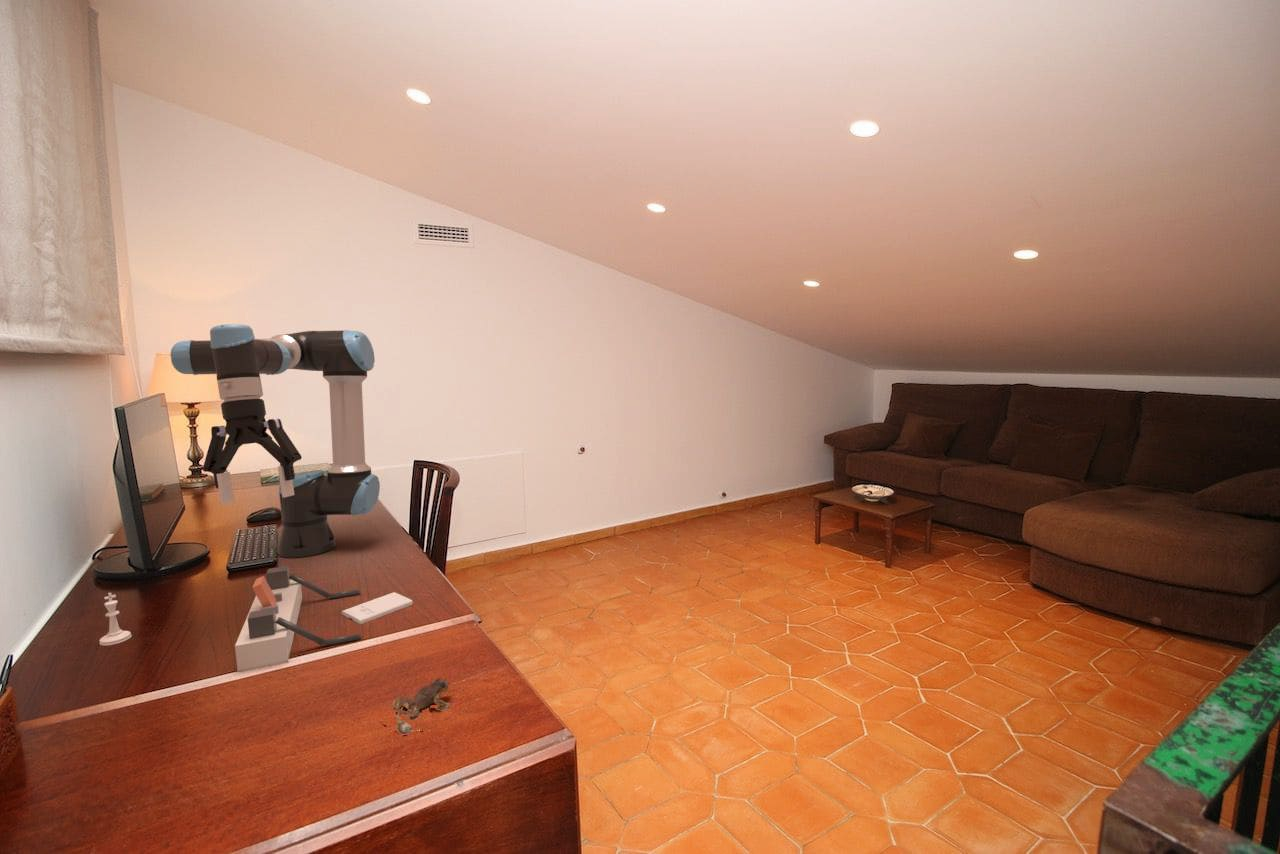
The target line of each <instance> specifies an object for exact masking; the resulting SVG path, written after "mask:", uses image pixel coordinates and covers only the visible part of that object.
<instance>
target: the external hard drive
mask: <svg viewBox="0 0 1280 854" xmlns="http://www.w3.org/2000/svg"><path fill="white" fill-rule="evenodd" d="M412 605H414V604H413V600H412V599H410V598H409V597H406V596H404V595H402V594H399V593H398V592H394V591H393V592H390V593H388V594H386V595H383V596H380V597H377V598H374V599H372V600H368V601H366V602H363V603H360V604H357V605H355V606H352V607H350V608H346V609H344V610H341V615H342V616H344V617H346V618H348V619H351V620H352V621H353V622H355V623H357V624H359V625H363V624H365V623H368V622H370V621H373V620H375V619H378V618H381V617H383V616H386V615H389V614H391V613H395V612H396V611H399V610H402V609H405V608H407V607H410V606H412Z"/></svg>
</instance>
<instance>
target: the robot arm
mask: <svg viewBox="0 0 1280 854" xmlns="http://www.w3.org/2000/svg"><path fill="white" fill-rule="evenodd" d="M209 338H210V340H195V339H194V340H193V339H190V340H180V341H177V342H176V343H175V344H173V346H172V347H171V350H170V360H171V362H170V363H171V364H172V366H173V368H174V369H175V370H176V371H177V372H179V373H181V374H182V375H194V376H198V375H216V382H217V388H218V395H219V399H220V400H222V401H223V402H221V404H220V407H221V414H222V415H221V416H222V419H223V420H225V425H216V426H215V425H214V426H211V428H210V429H211V430H210V431H211V438H210V442H209V445H208V449H207V451H206V452H207V453H206V456H205V460H204V463H203V467H202V471H203V472H208V473H211V474H213V479H214V484H215V488H216V489H218V491H219V498H220V504H221V506H222V505H227V504H231V503H232V504H233V503H235V496H234V489H233V484H232V478H231V472H230V471H229V470H227V469H228V467H229V465H230V464H231V462H232V460H233V459H234V456H235V455H236V453H237V452H238V450H239V449H240V447H242V446H243V445H249V444H258V445H260V446H261V447H262V448H264V450H265V451H266V452H267V453H269V454H270V455H271V456H272V457H273V458H274V459H275V461H277V462H278V463H279V465H278V466H277V472H278V477H279V483H278V495H279V504H280V513H281V524H282V527H281V531H280V535H279V538H278V539H279V540H278V543H277V547H276V548H277V555H278V554H279V555H278V556H279V557H283V558H304V557H312V556H316V555H319V554H323V553H326V552H329V551H331V550H333V549H334V548H335V547H336V546H337V544H336V543H337V542H336V536H335V535H334V532H333V529H332V528H331V526H330V524H329V522H328V516H337V515H338V516H342V515H343V516H344V515H346V516H348V515H350V516H357V515H366V514H369V513H370V512H372V511H373V510H374V509H375V506H376V505H377V502H378V500H379V496H380V486H381V484H380V482H381V481H380V480H379V477H378V475H376V474H374V473H373V474H372V467H370V466H369V465H368V464H367V463H366V449H365V448H366V447H365V446H366V445H365V429H364V428H365V425H364V421H365V420H364V404H363V403H364V402H363V398H364V397H363V382H364V381H365V380H366V379H367V378H368V372H370V371H372V370H373V368H374V366H375V362H376V361H375V353H374V348H373V345H372V343H371V341H370V338H369V337H368V336H367V335H366V333H364V332H362V331H358V330H349V329H347V330H346V329H345V330H306V331H300V332H299V331H298V332H293V333H286V334H285V333H284V334H276V335H274V336H272V337H270V338H256V336H255V334H254V331H253V328H252V327H251V326H250V325H247V324H240V323H239V324H238V323H235V324H233V323H229V324H219V325H215V326H213V327H211V328H210V330H209ZM287 370H300V371H308V372H309V371H310V372H312V371H313V372H314V371H315V372H322V377H323V379H324V380H325V381H327V382H328V384H329V385H328V387H329V388H328V389H329V407H330V428H331V429H330V431H331V450H332V451H331V454H332V465H331V467H330V468H329V469H327V472H326V473H327V474H326V475H325V472H324V471H323V469H322V470H321V469H315V470H308V471H301V472H297V473H295V468H294V464H295V463H296V462H298V461H301V460H302V457H303V456H302V455H301V454H300V452H299V450H298V448H296V446H295V444H294V443H293V441H292V440H291V438H290V437H289V435H288V434H287V432H286V431H285V429H284V427H283V424H282V420H281V419H280V418H272V419H271V418H270V419H268V420H266V418H265V416H266V415H267V412H266V406H265V401H264V399H262V398H261V397H263V396H264V392H263V386H262V385H263V384H262V381H261V380H262V379H261V376H260V375H266V376H267V375H268V376H269V375H271V376H273V375H280V374H282V373H285V372H286V371H287ZM267 430H268V431H269V432H270V434H271V435H269V434H268V432H267ZM227 435H228V437H227ZM273 439H274V440H275V441H276V442H275V441H274V440H273Z"/></svg>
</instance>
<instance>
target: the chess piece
mask: <svg viewBox="0 0 1280 854" xmlns="http://www.w3.org/2000/svg"><path fill="white" fill-rule="evenodd" d="M107 594H108V596H104V600H105V601H106V600H108V601H106V602H104V603H103V604H104V607H105V608H106V610H107V611H108V612H106V613H105V616H104V617H107V618H108V617H109V626H108V627H109V628H108V632H107V633H106V635H104V636H102V637H101V638H99V645H100V646H112V645H117V644H121V643H123V642H126V641H128V640H130V639H131V638H132V633H131V631H129V630H123V629H121V627H120V625H119V623H118V618H117V615H119V614H120V611H119V610H116V609H117V606H118V602H119V601H118V600H116V599H115V598H117V596H116V594H112V592H108V593H107Z"/></svg>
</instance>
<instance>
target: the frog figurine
mask: <svg viewBox="0 0 1280 854" xmlns="http://www.w3.org/2000/svg"><path fill="white" fill-rule="evenodd" d="M449 687H450V681H449V680H448V679H441V678H440V677H438V678H436V679H435V680H434V682H431V683H430V684H428V685H427V686H425V685H424V686H423V687H421V688H419V689H418V690H417V691H416V693H415V694H414V696H413V698H412V699H411V698H410V697H409V696H408V695H406V696H403V695H400V696H399V697H398V698H397V699H396V697H393V702H392V708H393V710H397V711H398V713H397V716H396V717H397V721H398V722H397V724H398V727H397V730H398V731H399V732H400V733H402V734H407V733H410V732H412V731H414V730H412V729H411V725H410V724H409V723H407V722H406V721H405V720H402V719H401V718H400V714H405V715H406V716H408V717H409V719H411V720H413V719H415V718H418V717H419V715H420V714H422V713H423V712H422V710H425V709H427V708H430V706H431V704H436V705H439V707H437V708H438V709H440V710H446V709H448V708H449V707H450V708H451V705H450V704H451V703H449V702H446V701H444V700H443V699H440V697H441V695H442V693H444V692H447V691H448V690H449ZM402 707H404V709H405V708H406V709H405V710H407V709H408V710H409V711H405V710H399V709H401V708H402ZM450 708H449V709H450ZM382 721H383V720H382V719H381V722H382ZM417 731H418V730H417ZM419 731H420V729H419ZM414 732H415V731H414Z"/></svg>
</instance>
